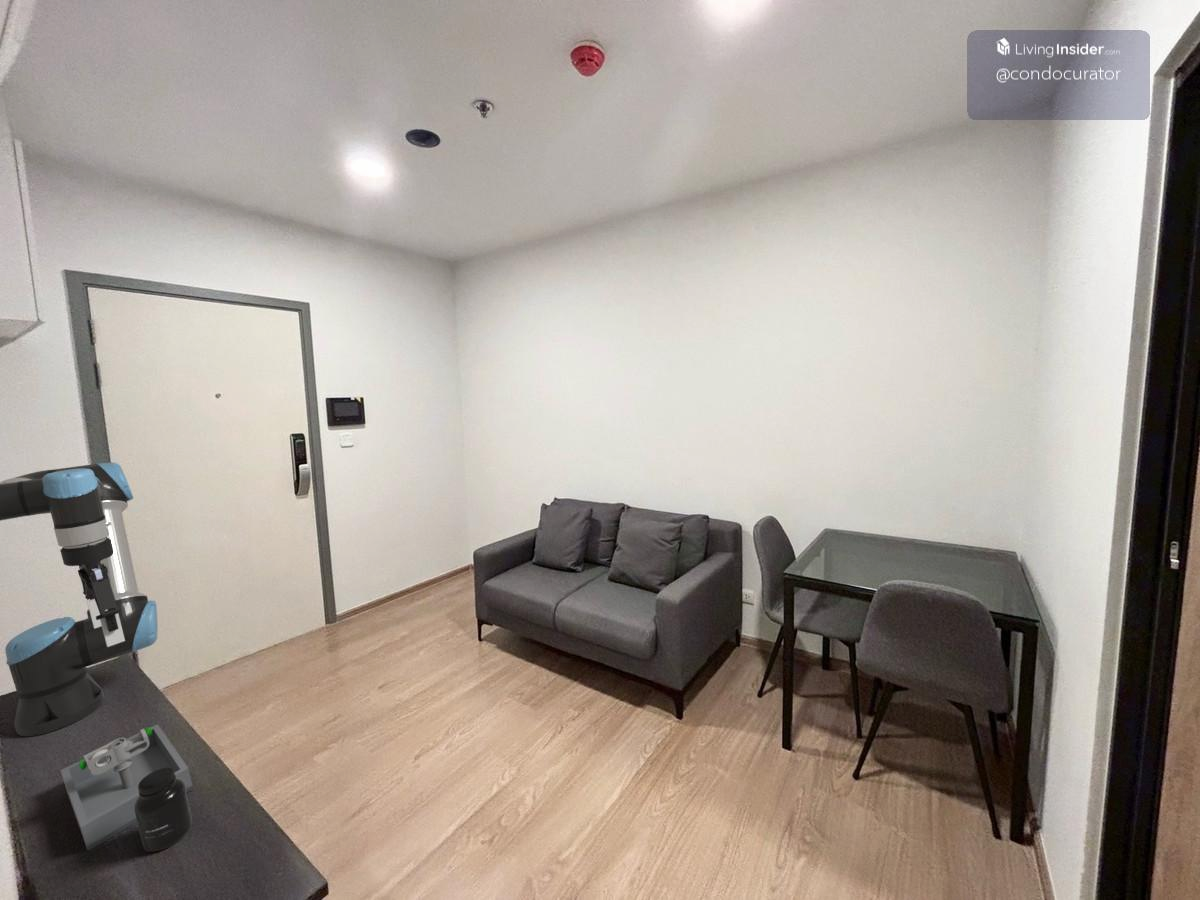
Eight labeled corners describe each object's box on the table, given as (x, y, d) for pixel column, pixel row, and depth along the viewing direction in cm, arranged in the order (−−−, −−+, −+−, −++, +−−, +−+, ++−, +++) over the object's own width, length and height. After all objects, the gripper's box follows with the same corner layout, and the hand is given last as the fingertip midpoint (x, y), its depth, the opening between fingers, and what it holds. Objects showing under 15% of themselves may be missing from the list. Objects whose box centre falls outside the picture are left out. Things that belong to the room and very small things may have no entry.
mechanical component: (163, 770, 102) (151, 729, 100) (95, 809, 94) (80, 765, 92) (159, 764, 104) (147, 723, 102) (91, 801, 96) (77, 758, 94)
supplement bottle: (151, 861, 84) (136, 801, 82) (137, 842, 88) (122, 784, 86) (200, 828, 90) (186, 771, 88) (185, 811, 94) (171, 756, 91)
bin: (66, 791, 100) (60, 770, 99) (162, 743, 111) (157, 724, 110) (87, 851, 87) (80, 827, 86) (193, 789, 98) (188, 768, 97)
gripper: (123, 547, 99) (146, 642, 103) (98, 527, 114) (119, 611, 118) (70, 560, 94) (96, 661, 97) (50, 537, 108) (74, 626, 112)
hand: (109, 634), depth 108 cm, fingers open, 13 cm apart
